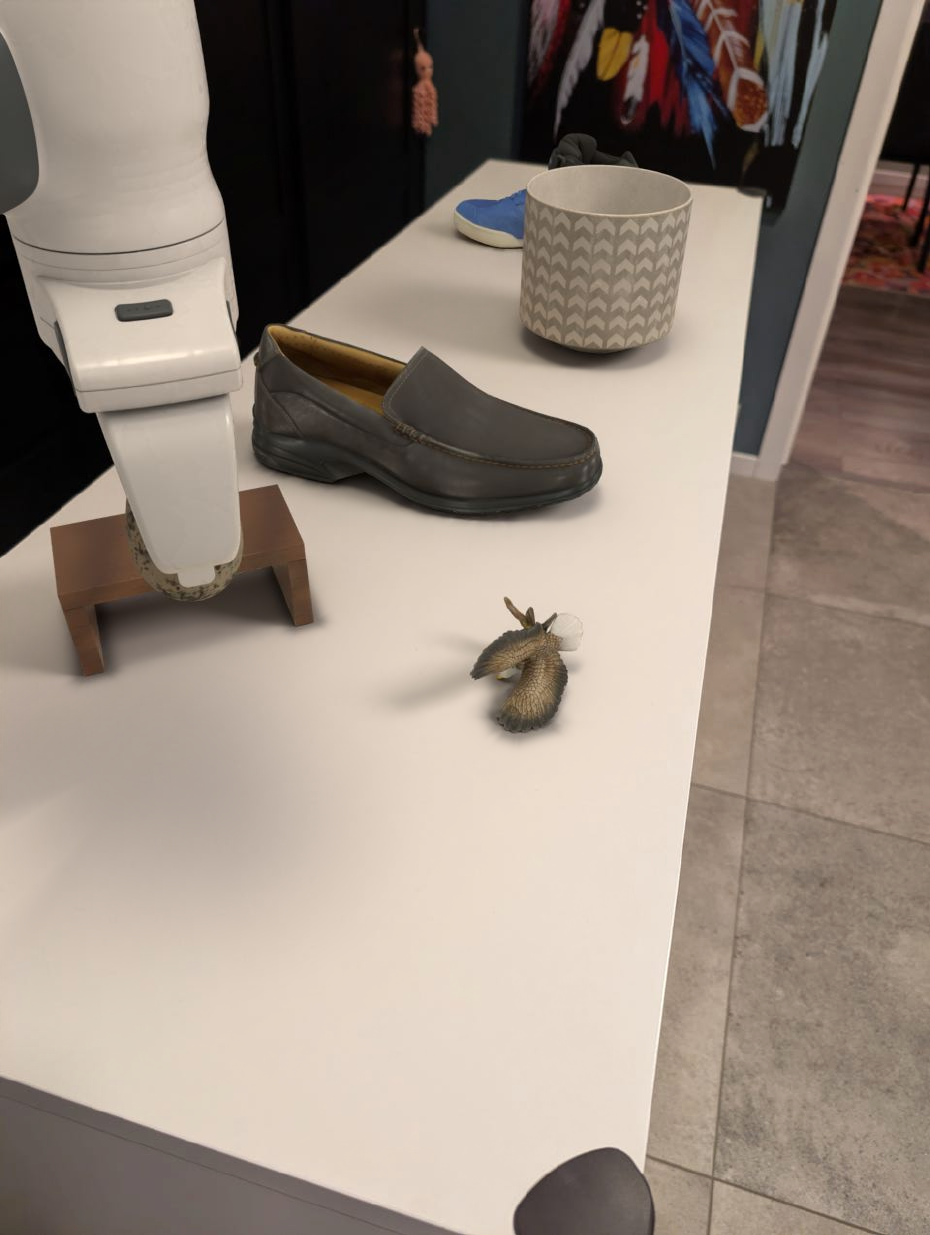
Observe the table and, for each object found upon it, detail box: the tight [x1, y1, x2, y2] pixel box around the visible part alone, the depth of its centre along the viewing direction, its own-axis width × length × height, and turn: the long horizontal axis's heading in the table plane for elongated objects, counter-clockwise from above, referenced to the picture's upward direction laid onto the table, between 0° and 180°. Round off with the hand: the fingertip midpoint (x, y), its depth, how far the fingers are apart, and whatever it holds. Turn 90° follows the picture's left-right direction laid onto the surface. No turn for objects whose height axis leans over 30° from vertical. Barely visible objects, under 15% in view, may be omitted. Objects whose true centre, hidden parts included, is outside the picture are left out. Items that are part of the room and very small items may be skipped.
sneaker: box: [452, 133, 640, 249], centre depth 142 cm, size 12×29×16 cm, turn 71°
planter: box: [519, 165, 694, 354], centre depth 115 cm, size 19×19×18 cm
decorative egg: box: [124, 497, 243, 603], centre depth 51 cm, size 6×6×10 cm
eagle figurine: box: [469, 596, 584, 734], centre depth 71 cm, size 8×7×9 cm
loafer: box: [250, 323, 604, 516], centre depth 92 cm, size 13×36×13 cm, turn 76°
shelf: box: [49, 483, 314, 677], centre depth 77 cm, size 18×9×8 cm, turn 112°
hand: (186, 538), depth 52 cm, fingers closed on decorative egg, 6 cm apart
